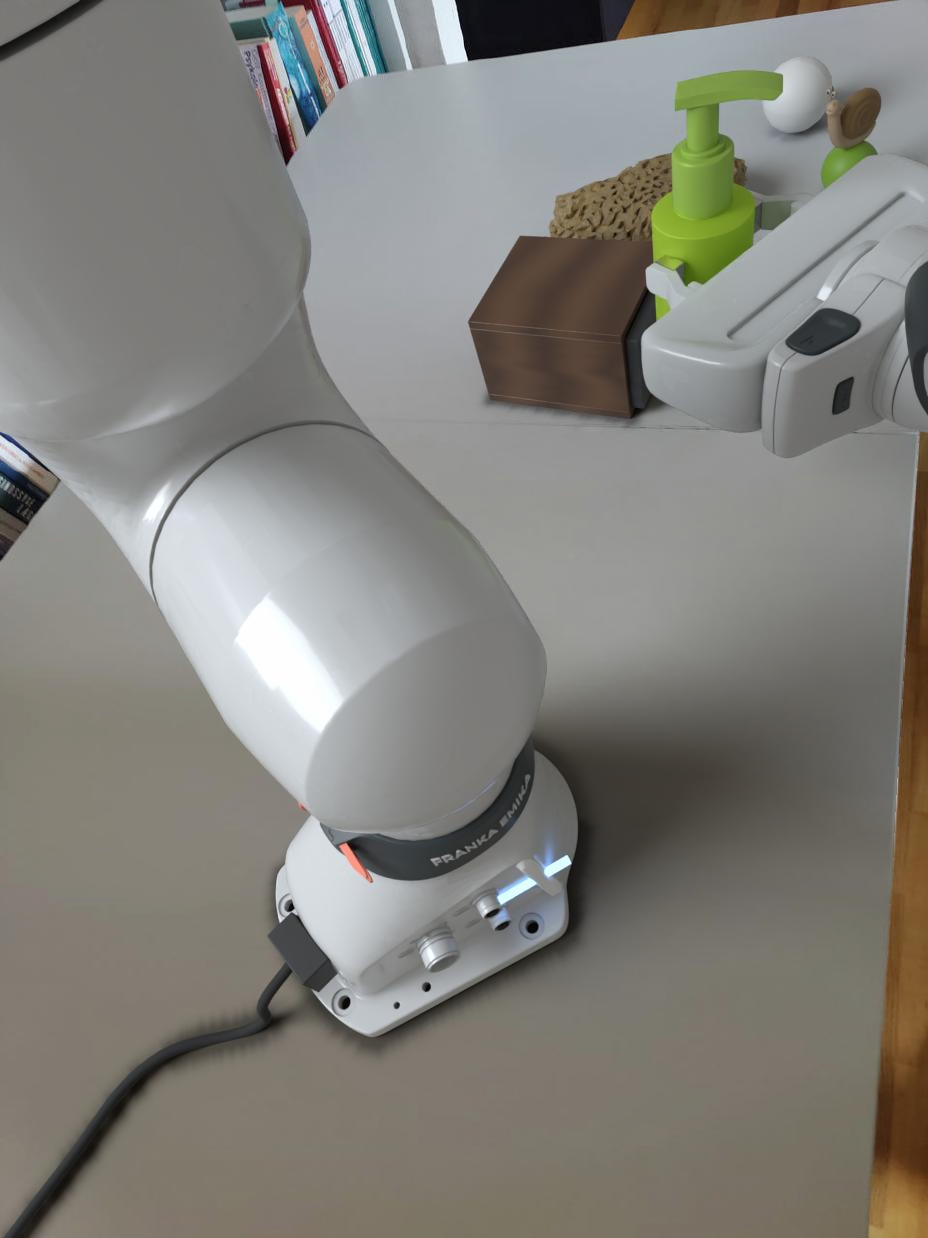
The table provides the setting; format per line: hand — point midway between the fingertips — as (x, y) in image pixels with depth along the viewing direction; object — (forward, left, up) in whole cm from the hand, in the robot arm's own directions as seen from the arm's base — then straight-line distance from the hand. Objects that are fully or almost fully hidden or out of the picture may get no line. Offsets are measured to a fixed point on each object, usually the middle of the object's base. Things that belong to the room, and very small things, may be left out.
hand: (695, 239), depth 52 cm
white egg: (+46, +33, -25) cm, 63 cm away
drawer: (+6, +18, -24) cm, 31 cm away
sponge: (+23, +32, -25) cm, 47 cm away
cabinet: (+4, +21, -25) cm, 33 cm away
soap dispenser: (0, -1, -11) cm, 11 cm away
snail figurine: (+38, +19, -25) cm, 50 cm away
